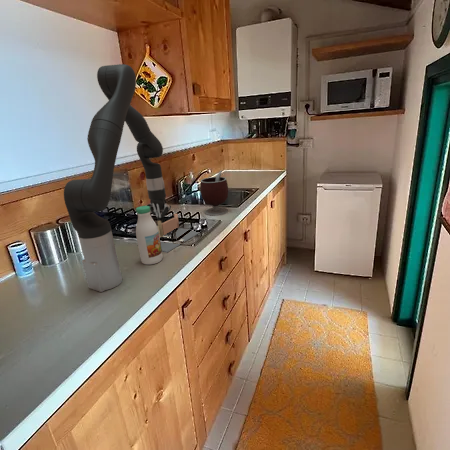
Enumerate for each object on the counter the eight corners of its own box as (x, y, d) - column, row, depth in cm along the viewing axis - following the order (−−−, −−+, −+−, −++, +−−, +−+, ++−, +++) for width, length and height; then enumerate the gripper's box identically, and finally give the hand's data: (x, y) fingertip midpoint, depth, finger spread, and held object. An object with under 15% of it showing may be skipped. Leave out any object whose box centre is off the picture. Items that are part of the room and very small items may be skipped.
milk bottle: (141, 266, 104) (130, 212, 97) (141, 257, 111) (131, 205, 104) (163, 262, 106) (154, 208, 99) (162, 253, 113) (153, 202, 106)
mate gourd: (221, 217, 147) (217, 177, 140) (197, 215, 154) (193, 176, 147) (235, 208, 160) (233, 170, 153) (213, 206, 166) (210, 170, 159)
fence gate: (164, 235, 129) (162, 221, 127) (161, 234, 130) (159, 220, 128) (180, 227, 137) (178, 213, 135) (177, 226, 138) (175, 213, 136)
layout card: (167, 252, 114) (167, 251, 113) (137, 246, 122) (137, 245, 122) (201, 232, 131) (201, 231, 131) (173, 227, 139) (173, 226, 139)
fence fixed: (143, 247, 120) (140, 230, 117) (140, 246, 120) (137, 230, 118) (164, 236, 129) (161, 220, 127) (161, 235, 130) (159, 220, 127)
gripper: (138, 188, 132) (145, 225, 138) (161, 190, 126) (167, 229, 132) (151, 184, 138) (156, 220, 144) (173, 186, 132) (178, 223, 138)
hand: (161, 224), depth 138 cm, fingers closed
